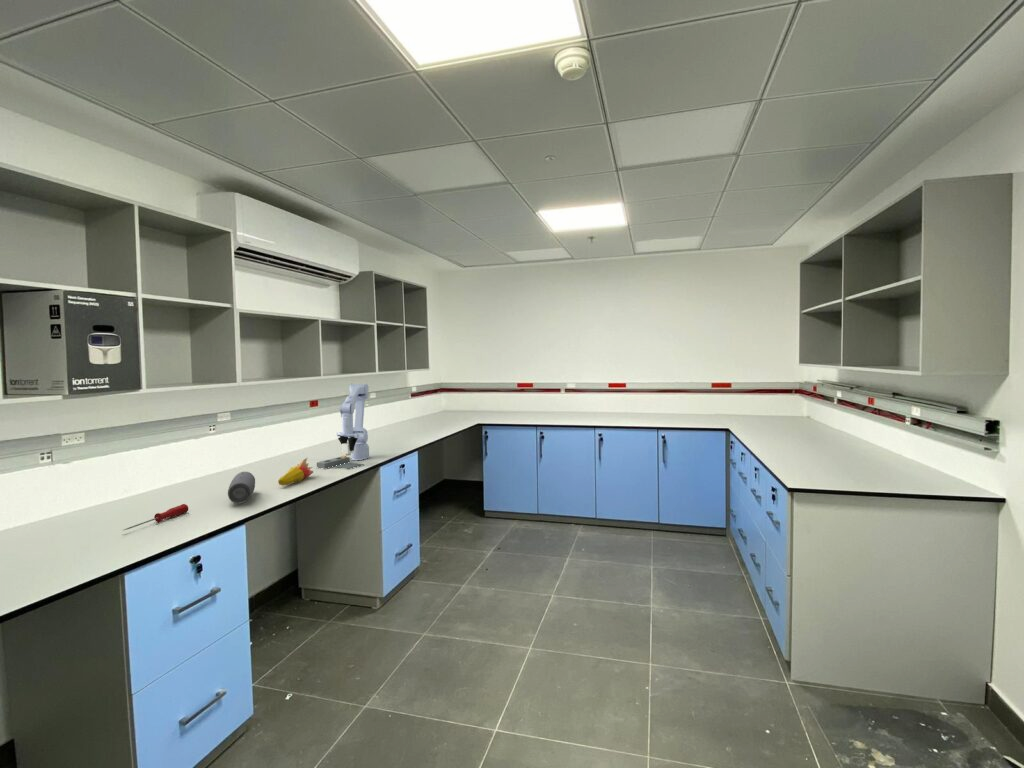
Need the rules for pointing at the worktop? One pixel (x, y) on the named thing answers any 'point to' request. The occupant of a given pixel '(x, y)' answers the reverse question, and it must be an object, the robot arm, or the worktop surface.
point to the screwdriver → (167, 514)
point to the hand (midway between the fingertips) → (348, 450)
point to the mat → (348, 465)
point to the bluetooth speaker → (241, 487)
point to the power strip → (333, 462)
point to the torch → (296, 473)
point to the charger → (347, 449)
